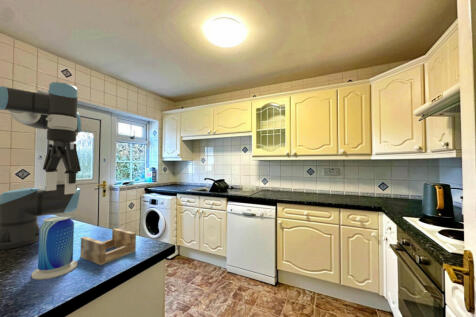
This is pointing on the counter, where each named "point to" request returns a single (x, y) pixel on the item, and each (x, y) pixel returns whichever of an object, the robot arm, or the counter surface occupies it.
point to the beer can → (55, 244)
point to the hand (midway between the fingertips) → (60, 192)
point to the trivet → (39, 275)
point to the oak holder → (97, 249)
